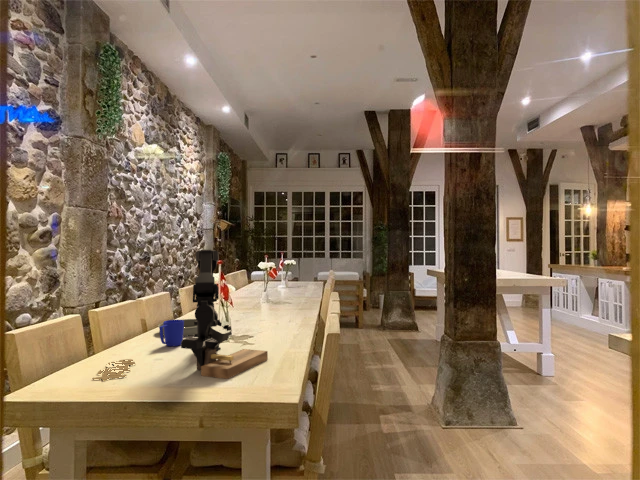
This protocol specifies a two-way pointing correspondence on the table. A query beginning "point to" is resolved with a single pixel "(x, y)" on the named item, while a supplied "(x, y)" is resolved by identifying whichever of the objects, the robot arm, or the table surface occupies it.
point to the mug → (172, 332)
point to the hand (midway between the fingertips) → (206, 364)
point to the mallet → (213, 357)
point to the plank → (234, 364)
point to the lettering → (113, 374)
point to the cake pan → (187, 327)
